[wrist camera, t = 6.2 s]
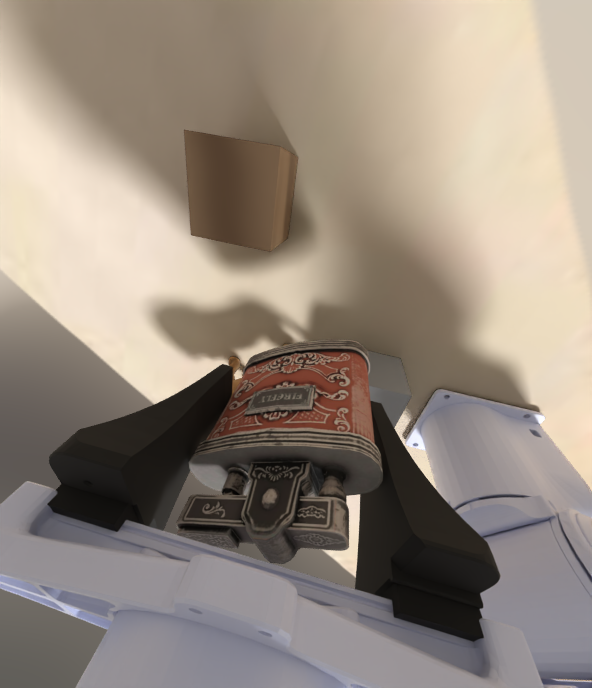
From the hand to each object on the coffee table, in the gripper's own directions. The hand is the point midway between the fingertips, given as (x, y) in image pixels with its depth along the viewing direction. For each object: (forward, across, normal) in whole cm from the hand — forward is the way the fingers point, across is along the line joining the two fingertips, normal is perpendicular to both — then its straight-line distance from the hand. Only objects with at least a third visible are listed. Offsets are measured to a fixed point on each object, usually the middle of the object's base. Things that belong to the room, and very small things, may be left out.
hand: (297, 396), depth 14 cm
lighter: (+3, 0, 0) cm, 3 cm away
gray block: (+10, -6, +4) cm, 12 cm away
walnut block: (+10, +6, -8) cm, 14 cm away
